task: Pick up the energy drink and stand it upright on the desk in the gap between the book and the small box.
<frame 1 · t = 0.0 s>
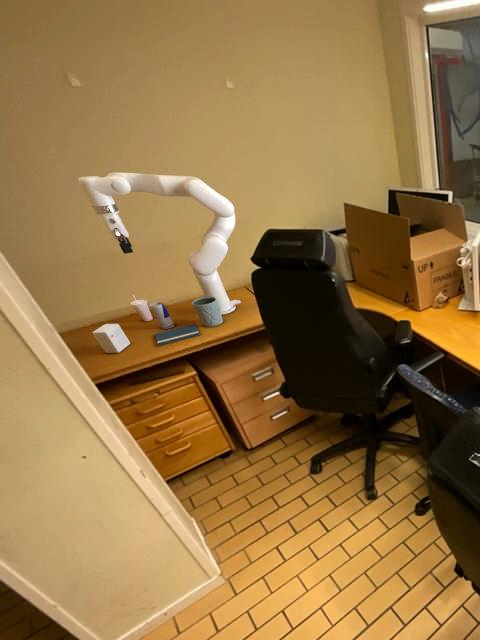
hand: (128, 250, 173), 37 cm above the table, tool pointing down, fingers open, 9 cm apart
blue plant pot: (214, 323, 196), on the table
energy drink: (168, 326, 192), on the table
smoothie: (148, 319, 197), on the table
small box: (118, 348, 175), on the table
book: (178, 335, 185), on the table
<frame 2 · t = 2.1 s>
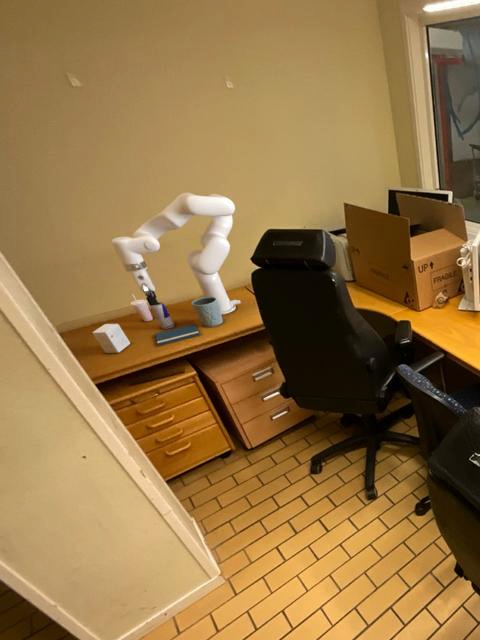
hand: (153, 301, 184), 14 cm above the table, tool pointing down, fingers open, 9 cm apart
nothing on the table moved.
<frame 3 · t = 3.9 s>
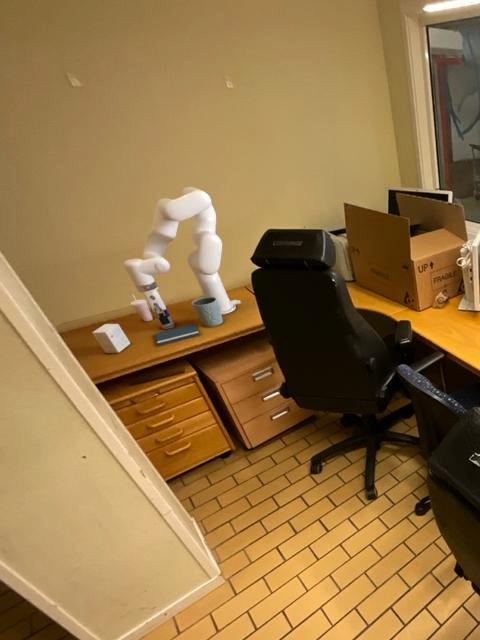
hand: (165, 321, 190), 3 cm above the table, tool pointing down, fingers closed on energy drink, 5 cm apart
energy drink: (168, 326, 192), on the table, touching gripper
everything else where it was.
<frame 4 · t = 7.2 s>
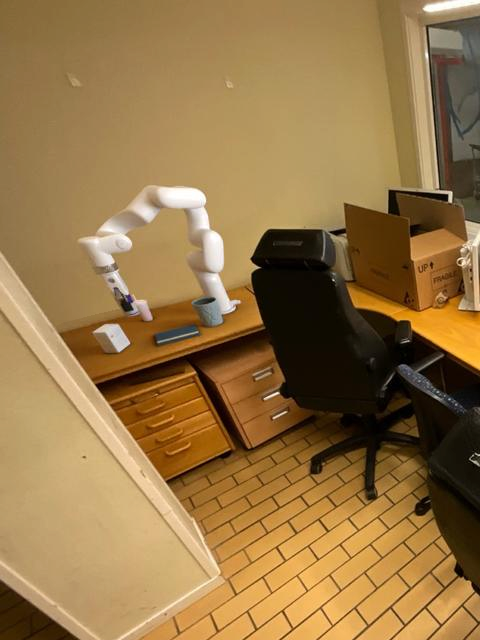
hand: (129, 308, 170), 17 cm above the table, tool pointing down, fingers closed on energy drink, 5 cm apart
energy drink: (132, 314, 172), point 14 cm above the table, touching gripper
everything else where it was.
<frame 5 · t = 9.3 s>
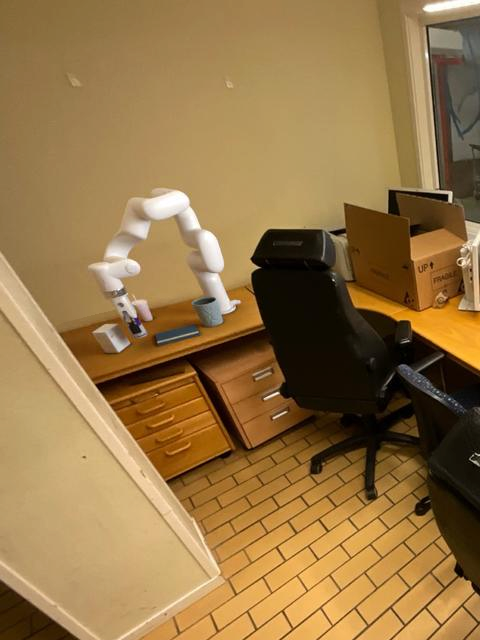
hand: (136, 330, 174), 7 cm above the table, tool pointing down, fingers closed on energy drink, 5 cm apart
energy drink: (140, 336, 176), point 4 cm above the table, touching gripper
everything else where it was.
when the fingers open (3 cm above the table, at t = 10.8 s): energy drink stays where it is, on the table.
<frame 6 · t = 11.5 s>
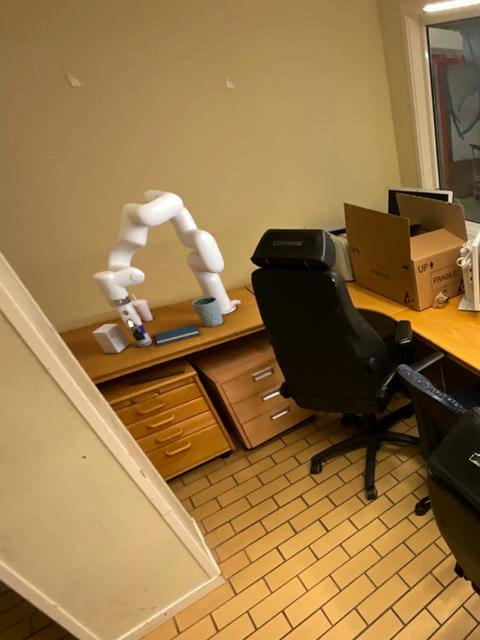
hand: (140, 335, 176), 4 cm above the table, tool pointing down, fingers open, 9 cm apart
energy drink: (145, 344, 179), on the table
everything else where it was.
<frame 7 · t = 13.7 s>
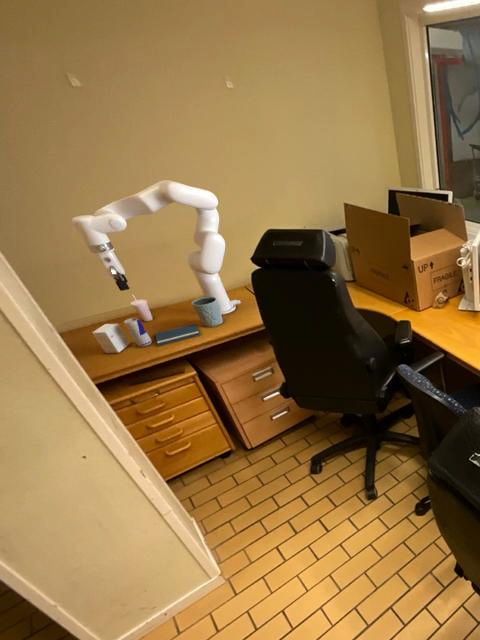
hand: (124, 286, 171), 24 cm above the table, tool pointing down, fingers open, 9 cm apart
nothing on the table moved.
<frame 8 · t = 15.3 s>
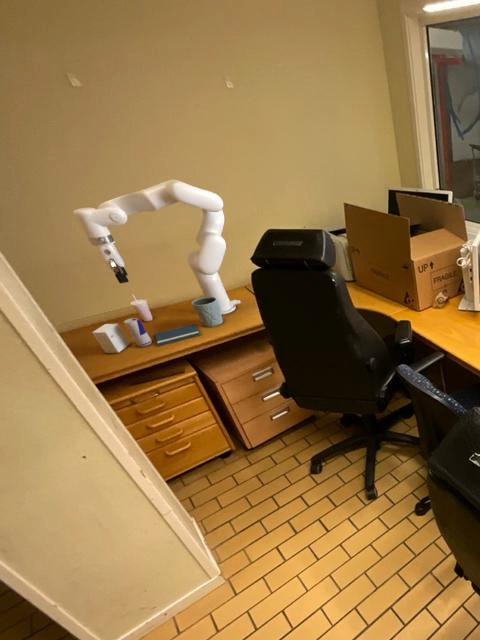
hand: (123, 279, 173), 26 cm above the table, tool pointing down, fingers open, 9 cm apart
nothing on the table moved.
at the end: energy drink inside the target area (0.6 cm from its centre), on the table; energy drink tilted 0°; energy drink touching table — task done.
